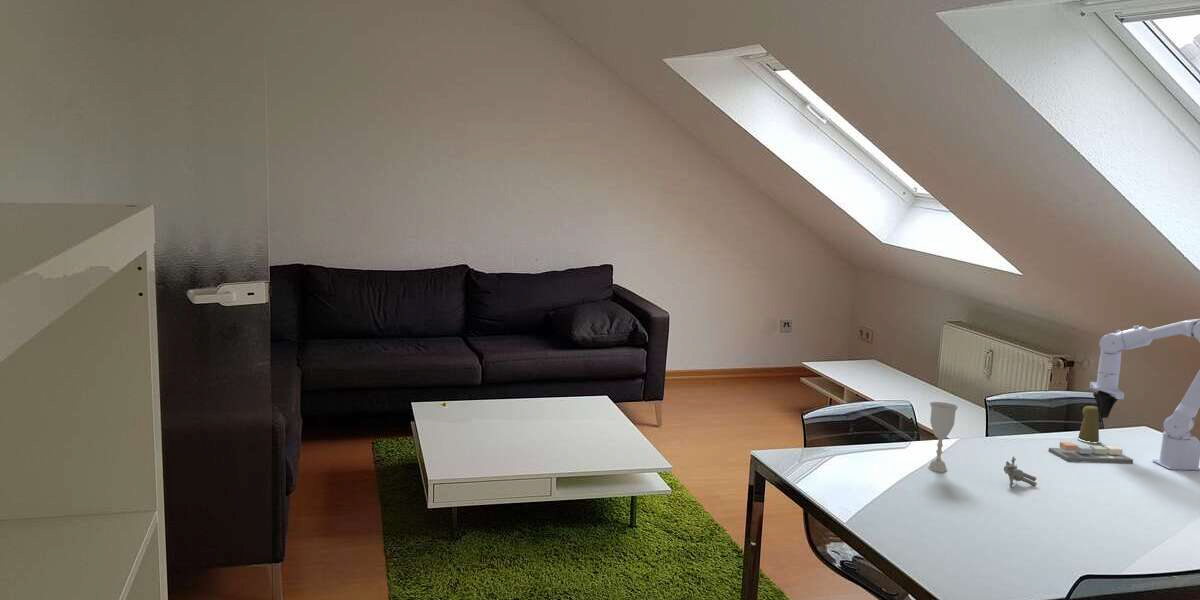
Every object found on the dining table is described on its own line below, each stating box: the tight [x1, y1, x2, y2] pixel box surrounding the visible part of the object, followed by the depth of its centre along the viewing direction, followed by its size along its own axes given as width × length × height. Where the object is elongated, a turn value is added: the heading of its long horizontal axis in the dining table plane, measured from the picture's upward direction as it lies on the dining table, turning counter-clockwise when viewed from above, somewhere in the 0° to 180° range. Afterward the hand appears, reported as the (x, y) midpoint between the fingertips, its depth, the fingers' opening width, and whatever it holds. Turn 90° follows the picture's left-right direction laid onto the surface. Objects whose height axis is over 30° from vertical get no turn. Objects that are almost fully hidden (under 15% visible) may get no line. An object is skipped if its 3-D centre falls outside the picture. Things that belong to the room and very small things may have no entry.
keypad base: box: [1048, 447, 1134, 464], centre depth 285 cm, size 20×10×1 cm, turn 94°
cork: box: [1077, 405, 1100, 442], centre depth 303 cm, size 6×6×11 cm
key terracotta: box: [1058, 441, 1078, 451], centre depth 285 cm, size 3×3×2 cm
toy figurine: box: [1003, 456, 1038, 489], centre depth 255 cm, size 10×6×9 cm
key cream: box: [1103, 445, 1123, 455], centre depth 286 cm, size 3×3×2 cm
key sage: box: [1088, 444, 1107, 454], centre depth 285 cm, size 3×3×2 cm
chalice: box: [927, 401, 959, 473], centre depth 265 cm, size 7×7×18 cm
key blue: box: [1076, 444, 1092, 454], centre depth 285 cm, size 3×3×2 cm
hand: (1103, 417), depth 291 cm, fingers closed
